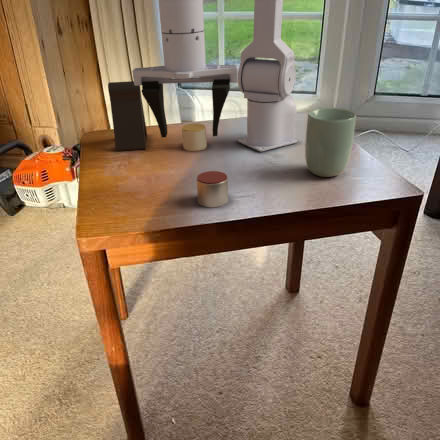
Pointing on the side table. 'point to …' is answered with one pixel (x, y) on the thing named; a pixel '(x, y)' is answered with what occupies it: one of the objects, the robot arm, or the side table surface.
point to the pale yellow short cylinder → (194, 137)
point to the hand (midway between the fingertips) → (189, 134)
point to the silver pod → (212, 189)
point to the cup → (329, 140)
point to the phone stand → (127, 116)
